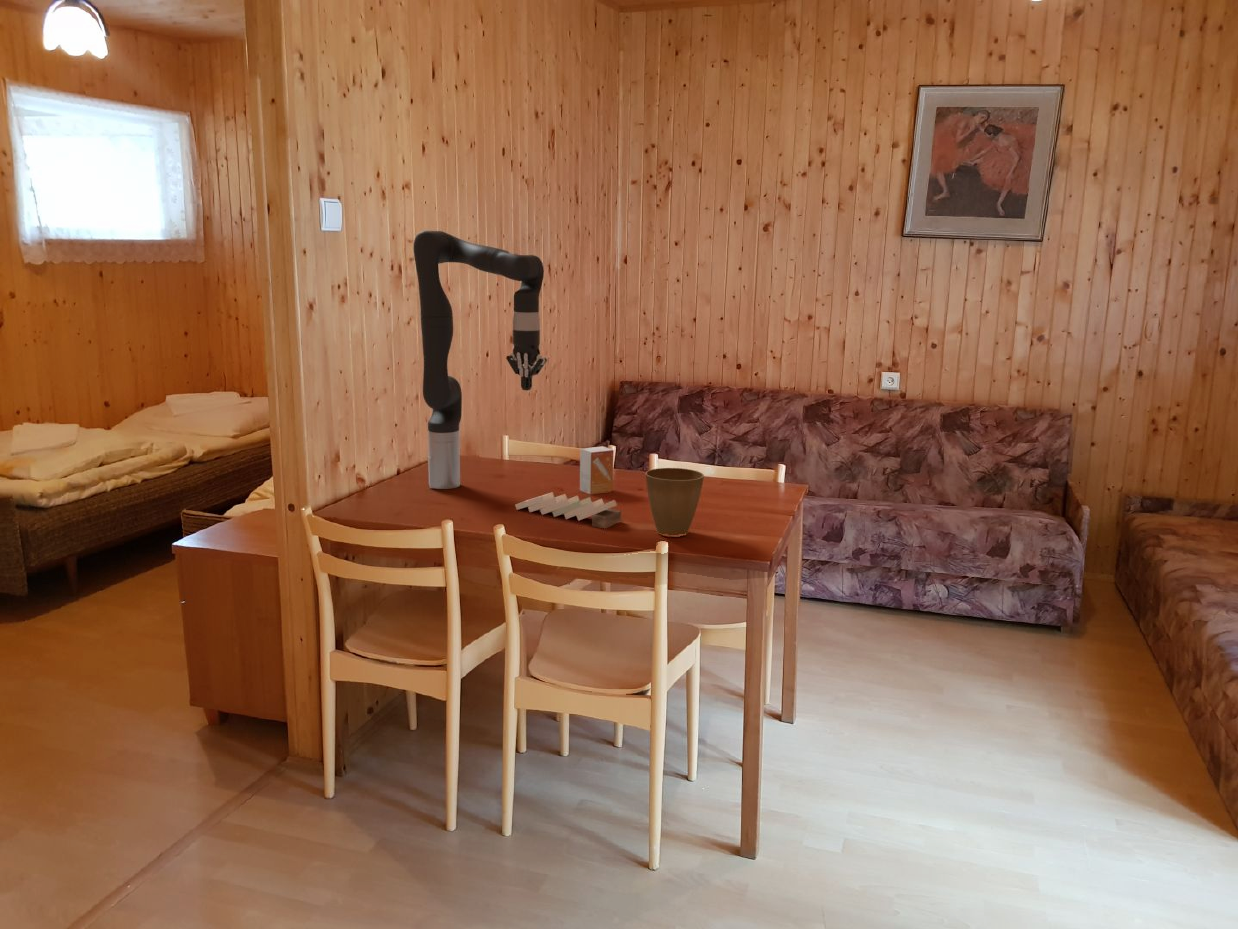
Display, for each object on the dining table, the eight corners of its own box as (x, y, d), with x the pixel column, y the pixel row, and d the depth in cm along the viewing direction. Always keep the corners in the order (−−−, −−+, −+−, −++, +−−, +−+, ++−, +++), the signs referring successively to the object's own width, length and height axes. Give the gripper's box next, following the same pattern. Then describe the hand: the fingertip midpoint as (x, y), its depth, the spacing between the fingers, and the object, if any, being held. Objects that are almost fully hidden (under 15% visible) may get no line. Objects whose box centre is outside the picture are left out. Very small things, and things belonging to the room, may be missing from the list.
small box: (590, 495, 287) (590, 452, 284) (579, 490, 292) (579, 448, 289) (613, 492, 291) (614, 449, 288) (601, 487, 296) (602, 445, 293)
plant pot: (706, 542, 244) (708, 480, 240) (647, 542, 243) (648, 480, 239) (696, 525, 258) (698, 466, 255) (641, 525, 257) (642, 466, 253)
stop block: (591, 526, 255) (592, 515, 255) (607, 519, 262) (608, 508, 261) (604, 528, 253) (605, 517, 253) (620, 521, 260) (620, 511, 259)
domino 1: (514, 504, 270) (542, 495, 264) (525, 500, 274) (552, 492, 268) (516, 510, 270) (543, 501, 264) (527, 506, 274) (554, 497, 268)
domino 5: (563, 513, 261) (591, 502, 256) (574, 509, 265) (601, 498, 260) (565, 519, 261) (593, 508, 256) (576, 515, 265) (604, 504, 260)
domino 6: (576, 515, 259) (604, 503, 254) (586, 511, 263) (614, 499, 258) (578, 520, 259) (607, 509, 254) (588, 516, 263) (616, 505, 258)
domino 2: (527, 507, 267) (555, 497, 262) (538, 503, 272) (565, 493, 266) (529, 512, 267) (557, 503, 262) (540, 508, 272) (567, 499, 266)
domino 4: (552, 511, 263) (579, 500, 258) (562, 507, 267) (589, 496, 262) (554, 517, 263) (581, 506, 258) (564, 513, 267) (592, 502, 262)
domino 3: (539, 509, 265) (567, 499, 260) (550, 505, 269) (577, 495, 264) (541, 514, 265) (569, 504, 260) (552, 510, 269) (579, 500, 264)
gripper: (553, 328, 269) (553, 390, 273) (515, 326, 276) (515, 386, 280) (537, 330, 263) (537, 393, 267) (499, 327, 270) (499, 389, 274)
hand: (526, 389), depth 273 cm, fingers closed
